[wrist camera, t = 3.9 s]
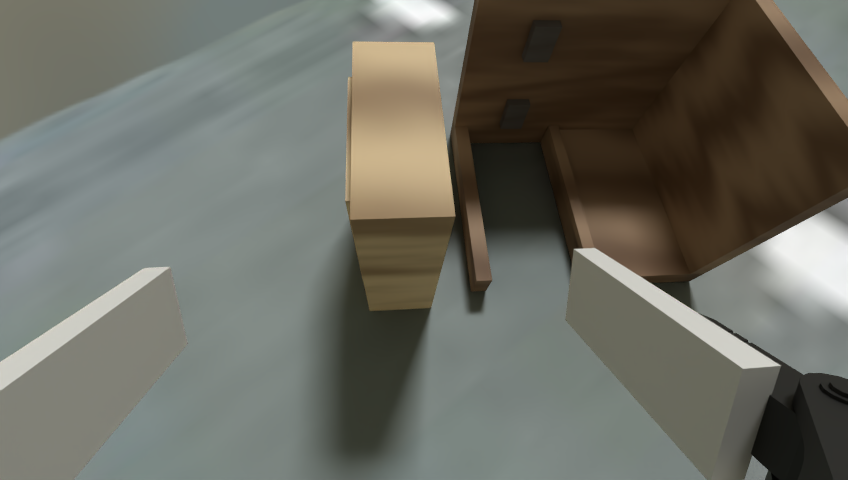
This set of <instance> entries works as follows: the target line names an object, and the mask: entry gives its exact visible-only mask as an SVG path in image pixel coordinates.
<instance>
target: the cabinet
mask: <svg viewBox="0 0 848 480" xmlns="http://www.w3.org/2000/svg"><path fill="white" fill-rule="evenodd" d="M451 142H452V150H453V157H454V165H455V172H456V180H457V188H458V195H459V203H460V211H461V218H462V226H463V233H464V241H465V249H466V256H467V264H468V272H469V279H470V287H471V292H473V291H486V290H487V288H488V286H489V285H490V283H491V281H492V276H491V270H490V264H489V257H488V251H487V245H486V238H485V232H484V226H483V219H482V213H481V207H480V201H479V194H478V188H477V182H476V175H475V169H474V163H473V156H472V150H471V144H470V143H530V142H540V143H541V147H542V151H543V154H544V158H545V162H546V166H547V170H548V174H549V177H550V181H551V185H552V189H553V193H554V197H555V200H556V204H557V208H558V212H559V216H560V220H561V224H562V227H563V231H564V235H565V239H566V243H567V247H568V250H569V254H570V258H571V262H572V259H573V251H574V249H583V248H596V249H597V250H599V251H601V252H602V253H604V254H605V255H607V256H608V257H610V258H612V259H613V260H615V261H616V262H618V263H619V264H621V265H623V266H624V267H626V268H627V269H629V270H631V271H632V272H634V273H635V274H637V275H638V276H640V277H642V278H643V279H645V280H646V281H648V282H650V283H662V282H683V281H691V280H693V279H695V278H696V277H698V276H700V275H702V274H704V273H706V272H708V271H710V270H712V269H713V268H715V267H717V266H719V265H721V264H723V263H725V262H727V261H729V260H731V259H732V258H734V257H736V256H738V255H740V254H742V253H744V252H746V251H748V250H749V249H751V248H753V247H755V246H757V245H759V244H761V243H763V242H765V241H766V240H768V239H770V238H772V237H774V236H776V235H778V234H780V233H782V232H784V231H785V230H787V229H789V228H791V227H793V226H795V225H797V224H799V223H801V222H802V221H804V220H806V219H808V218H810V217H812V216H814V215H816V214H818V213H820V212H821V211H823V210H825V209H827V208H829V207H831V206H833V205H835V204H837V203H838V202H840V201H842V200H844V199H846V198H848V99H847V98H846V97H845V95H844V94H843V93H842V92H841V90H840V89H839V88H838V86H837V85H836V84H835V82H834V81H833V80H832V78H831V77H830V76H829V74H828V73H827V72H826V70H825V69H824V68H823V66H822V65H821V64H820V62H819V61H818V60H817V58H816V57H815V56H814V54H813V53H812V52H811V50H810V49H809V48H808V47H807V45H806V44H805V43H804V41H803V40H802V39H801V37H800V36H799V35H798V33H797V32H796V31H795V29H794V28H793V27H792V25H791V24H790V23H789V21H788V20H787V19H786V17H785V16H784V15H783V13H782V12H781V11H780V9H779V8H778V7H777V5H776V4H775V3H774V1H773V0H474V6H473V12H472V17H471V23H470V28H469V34H468V39H467V45H466V51H465V56H464V62H463V67H462V73H461V78H460V84H459V89H458V95H457V101H456V106H455V112H454V117H453V123H452V128H451Z"/></svg>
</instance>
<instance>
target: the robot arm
mask: <svg viewBox="0 0 848 480" xmlns="http://www.w3.org/2000/svg"><path fill="white" fill-rule="evenodd" d="M565 320H566V321H567V322H568V324H569V325H570V326H571V327H572V328H573V329H574V330H575V331H576V333H577V334H578V335H579V336H580V337H581V338H582V339H583V340H584V342H585V343H586V344H587V345H588V346H589V347H590V348H591V349H592V351H593V352H594V353H595V354H596V355H597V356H598V357H599V358H600V360H601V361H602V362H603V363H604V364H605V365H606V366H607V367H608V369H609V370H610V371H611V372H612V373H613V374H614V375H615V376H616V378H617V379H618V380H619V381H620V382H621V383H622V384H623V385H624V387H625V388H626V389H627V390H628V391H629V392H630V393H631V395H632V396H633V397H634V398H635V399H636V400H637V401H638V402H639V404H640V405H641V406H642V407H643V408H644V409H645V410H646V411H647V413H648V414H649V415H650V416H651V417H652V418H653V419H654V420H655V422H656V423H657V424H658V425H659V426H660V427H661V428H662V429H663V431H664V432H665V433H666V434H667V435H668V436H669V437H670V438H671V440H672V441H673V442H674V443H675V444H676V445H677V446H678V447H679V449H680V450H681V451H682V452H683V453H684V454H685V455H686V456H687V458H688V459H689V460H690V461H691V462H692V463H693V464H694V465H695V467H696V468H697V469H698V470H699V471H700V472H701V473H702V475H703V476H704V477H705V478H706V479H707V480H742V479H745V476H746V472H747V469H748V466H749V463H750V460H751V457H752V455H753V456H754V457H755V458H756V459H757V460H758V461H759V462H760V463H761V464H762V465H764V466H765V467H766V468H767V469H768V472H767V475H766V478H765V480H848V379H845V378H842V377H839V376H834V375H829V374H823V373H808V374H805V375H803V374H801V373H800V372H798V371H796V370H795V369H793V368H792V367H790V366H788V365H787V364H785V363H784V362H782V361H780V360H779V359H777V358H776V357H774V356H772V355H771V354H769V353H767V352H766V351H764V350H763V349H761V348H759V347H758V346H756V345H755V344H753V343H748V340H747V339H745V338H743V337H742V336H740V335H738V334H737V333H733V331H732V330H730V329H729V328H727V327H726V326H724V325H722V324H721V323H719V322H718V321H716V320H714V319H712V318H709V317H707V316H704V315H702V314H699V313H697V312H695V311H694V310H692V309H691V308H689V307H687V306H686V305H684V304H683V303H681V302H680V301H678V300H676V299H675V298H673V297H672V296H670V295H668V294H667V293H665V292H664V291H662V290H661V289H659V288H657V287H656V286H654V285H653V284H651V283H650V282H648V281H646V280H645V279H643V278H642V277H640V276H638V275H637V274H635V273H634V272H632V271H631V270H629V269H627V268H626V267H624V266H623V265H621V264H619V263H618V262H616V261H615V260H613V259H612V258H610V257H608V256H607V255H605V254H604V253H602V252H601V251H599V250H597V249H596V248H583V249H574V251H573V259H572V268H571V276H570V285H569V293H568V302H567V311H566V319H565ZM187 344H188V342H187V338H186V334H185V329H184V325H183V320H182V316H181V312H180V307H179V303H178V299H177V294H176V290H175V285H174V281H173V277H172V272H171V268H170V267H157V268H144V269H142V270H141V271H139V272H137V273H136V274H134V275H133V276H131V277H130V278H128V279H127V280H125V281H124V282H122V283H121V284H119V285H118V286H116V287H115V288H113V289H111V290H110V291H108V292H107V293H105V294H104V295H102V296H101V297H99V298H98V299H96V300H95V301H93V302H92V303H90V304H88V305H87V306H85V307H84V308H82V309H81V310H79V311H78V312H76V313H75V314H73V315H72V316H70V317H69V318H67V319H66V320H64V321H62V322H61V323H59V324H58V325H56V326H55V327H53V328H52V329H50V330H49V331H47V332H46V333H44V334H43V335H41V336H40V337H38V338H36V339H35V340H33V341H32V342H30V343H29V344H27V345H26V346H24V347H23V348H21V349H20V350H18V351H17V352H15V353H14V354H12V355H10V356H9V357H7V358H6V359H4V360H3V361H1V362H0V480H74V479H75V477H76V476H77V475H78V474H79V473H80V471H81V470H82V469H83V468H84V467H85V465H86V464H87V463H88V462H89V461H90V459H91V458H92V457H93V456H94V455H95V454H96V452H97V451H98V450H99V449H100V448H101V446H102V445H103V444H104V443H105V442H106V440H107V439H108V438H109V437H110V436H111V434H112V433H113V432H114V431H115V430H116V429H117V427H118V426H119V425H120V424H121V423H122V421H123V420H124V419H125V418H126V417H127V415H128V414H129V413H130V412H131V411H132V409H133V408H134V407H135V406H136V405H137V404H138V402H139V401H140V400H141V399H142V398H143V396H144V395H145V394H146V393H147V392H148V390H149V389H150V388H151V387H152V386H153V384H154V383H155V382H156V381H157V380H158V379H159V377H160V376H161V375H162V374H163V373H164V371H165V370H166V369H167V368H168V367H169V365H170V364H171V363H172V362H173V361H174V359H175V358H176V357H177V356H178V355H179V354H180V352H181V351H182V350H183V349H184V348H185V346H186V345H187Z"/></svg>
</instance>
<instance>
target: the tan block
mask: <svg viewBox="0 0 848 480" xmlns="http://www.w3.org/2000/svg"><path fill="white" fill-rule="evenodd" d="M345 201H346V206H347V211H348V215H349V220H350V224H351V229H352V234H353V238H354V243H355V247H356V252H357V257H358V261H359V266H360V270H361V275H362V280H363V282H364V287H365V292H366V296H367V301H368V306H369V310H370V311H382V310H401V309H421V308H431V306H432V302H433V298H434V295H435V291H436V287H437V284H438V280H439V276H440V272H441V269H442V265H443V261H444V257H445V254H446V250H447V246H448V243H449V239H450V235H451V231H452V228H453V224H454V220H455V208H454V200H453V192H452V184H451V176H450V168H449V160H448V152H447V144H446V135H445V127H444V119H443V111H442V103H441V95H440V87H439V79H438V71H437V63H436V54H435V46H434V42H353V59H352V77H348V107H347V152H346V198H345Z"/></svg>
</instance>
